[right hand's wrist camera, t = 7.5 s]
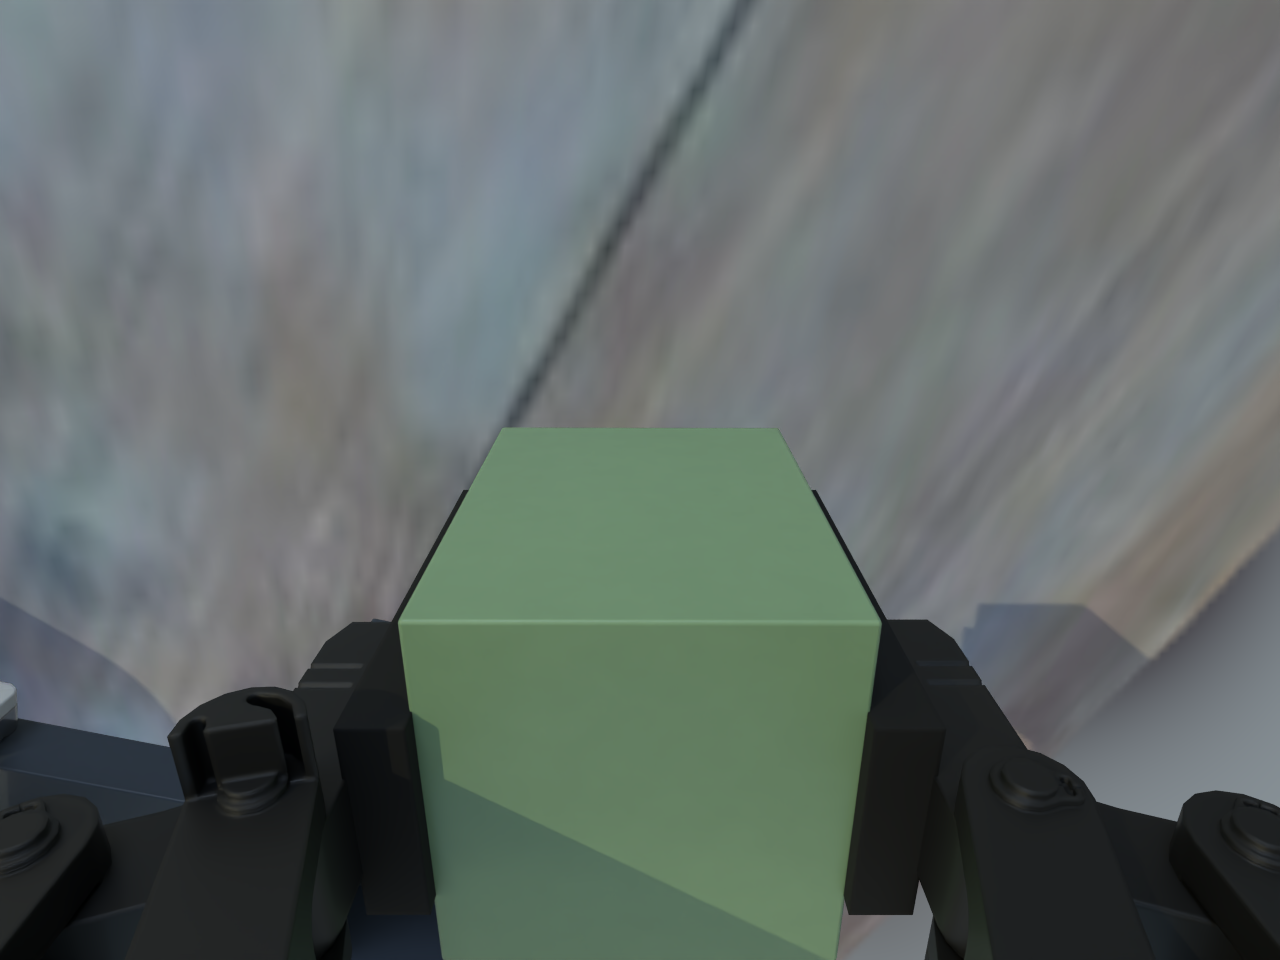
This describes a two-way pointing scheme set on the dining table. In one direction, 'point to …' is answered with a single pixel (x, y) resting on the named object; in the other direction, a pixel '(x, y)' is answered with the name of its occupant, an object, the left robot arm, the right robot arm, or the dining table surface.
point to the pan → (148, 783)
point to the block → (639, 701)
